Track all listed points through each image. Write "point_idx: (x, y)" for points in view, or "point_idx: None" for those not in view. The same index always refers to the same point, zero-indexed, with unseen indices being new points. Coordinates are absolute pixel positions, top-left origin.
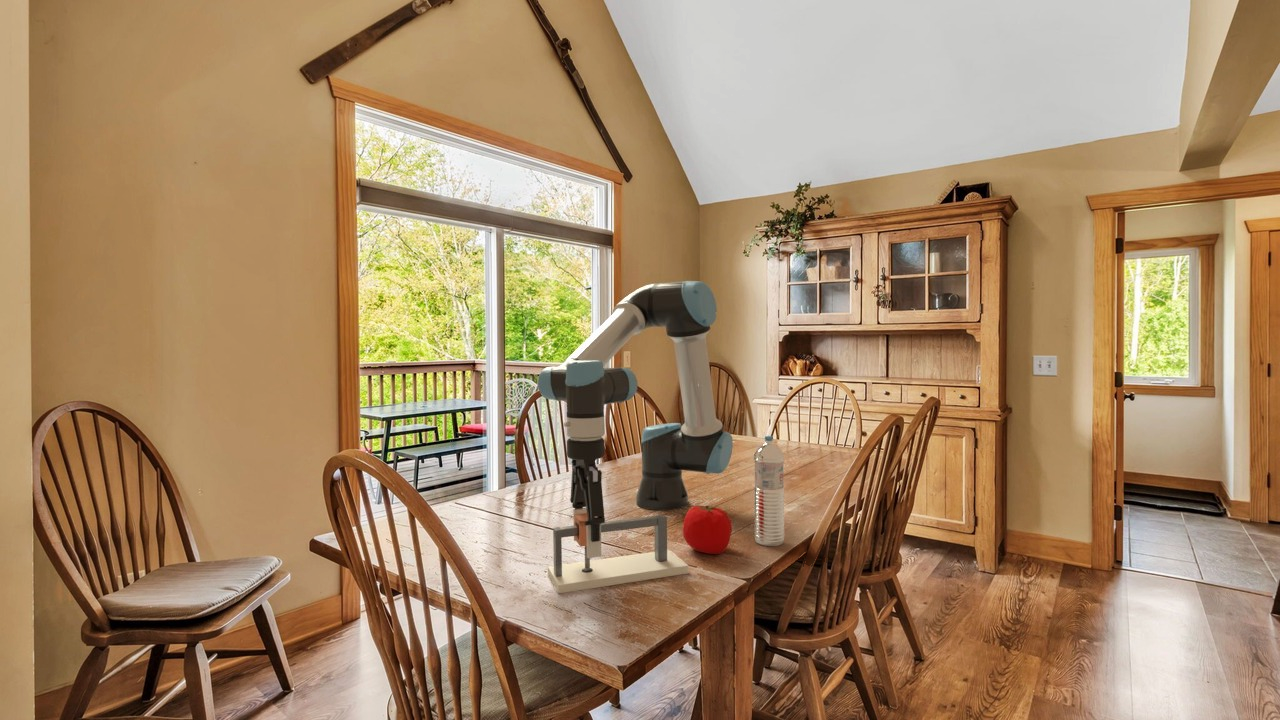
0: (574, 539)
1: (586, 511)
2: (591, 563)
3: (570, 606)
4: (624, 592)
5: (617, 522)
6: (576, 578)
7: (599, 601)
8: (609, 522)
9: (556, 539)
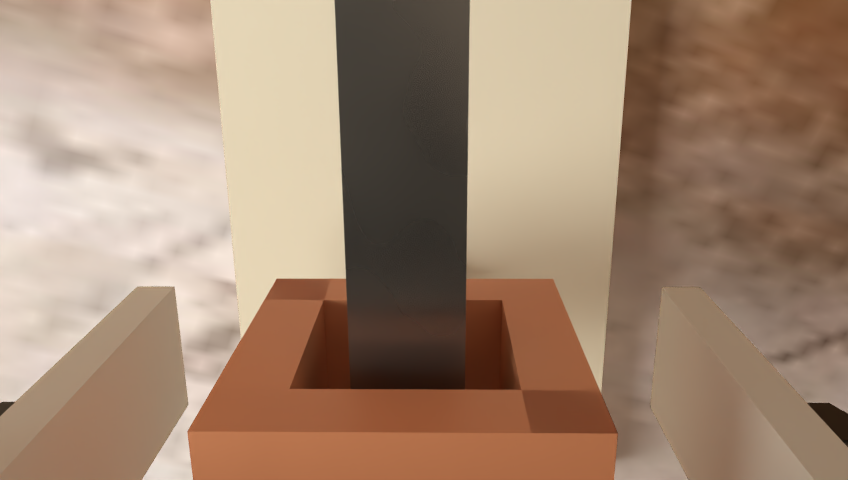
0: (180, 413)
1: (10, 465)
2: (293, 206)
3: None
4: (763, 78)
5: (449, 44)
6: None
7: (809, 274)
8: (405, 169)
9: None
